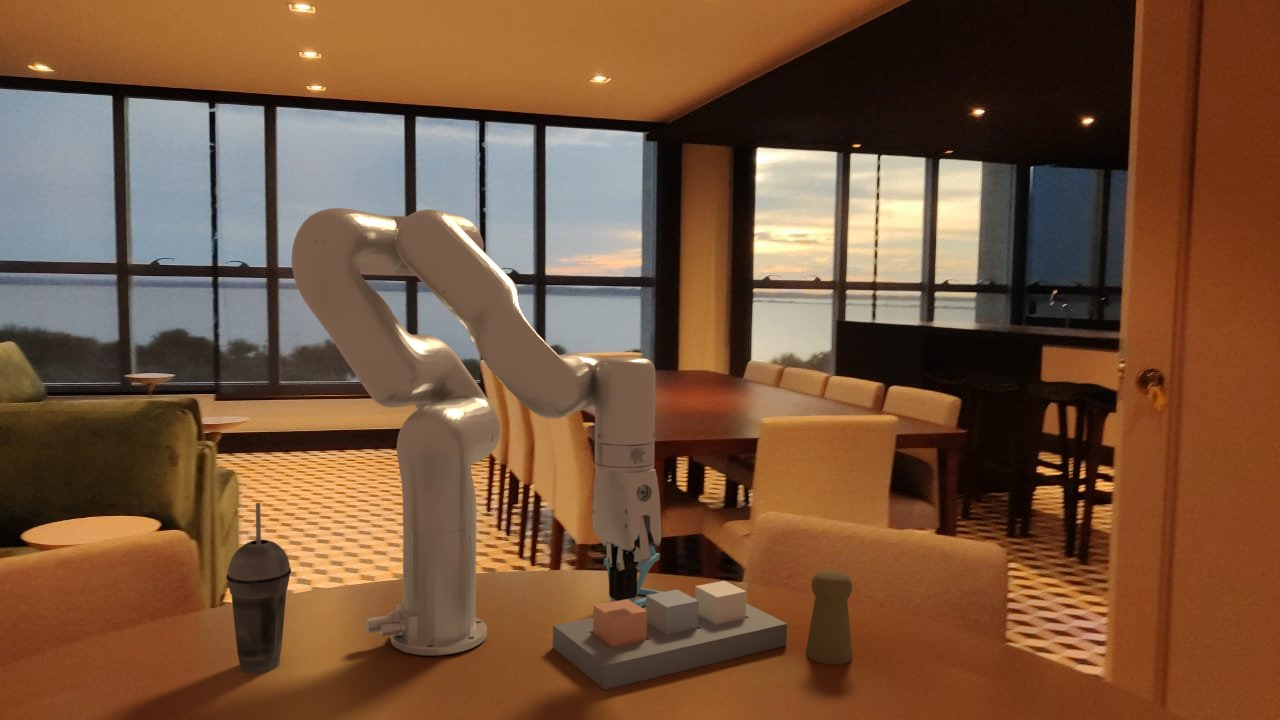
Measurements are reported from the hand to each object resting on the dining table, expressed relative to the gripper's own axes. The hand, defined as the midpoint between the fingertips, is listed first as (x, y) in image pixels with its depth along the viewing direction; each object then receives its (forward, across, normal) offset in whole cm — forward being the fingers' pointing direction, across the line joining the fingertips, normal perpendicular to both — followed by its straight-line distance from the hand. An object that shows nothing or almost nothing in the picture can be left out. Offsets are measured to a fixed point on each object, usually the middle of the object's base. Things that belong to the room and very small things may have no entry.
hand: (623, 597), depth 112 cm
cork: (+9, -12, -25) cm, 29 cm away
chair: (+8, +17, -12) cm, 22 cm away
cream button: (+6, 0, -16) cm, 17 cm away
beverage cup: (+8, +19, +40) cm, 45 cm away
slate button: (+6, 0, -8) cm, 9 cm away
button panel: (+8, 0, -8) cm, 11 cm away
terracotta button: (+6, 0, 0) cm, 6 cm away
